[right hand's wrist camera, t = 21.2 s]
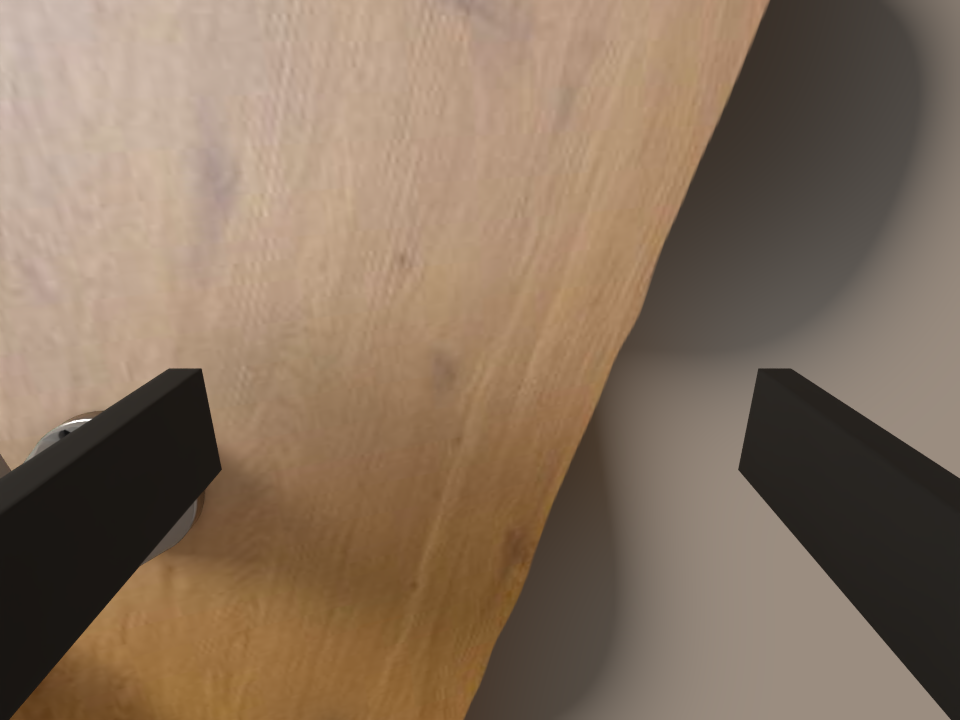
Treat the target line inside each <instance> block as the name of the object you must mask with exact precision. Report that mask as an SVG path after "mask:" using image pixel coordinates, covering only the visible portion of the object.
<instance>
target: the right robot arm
mask: <svg viewBox="0 0 960 720" xmlns="http://www.w3.org/2000/svg"><path fill="white" fill-rule="evenodd" d="M221 470H222V469H221V464H220V459H219V454H218V448H217V443H216V438H215V433H214V428H213V423H212V418H211V413H210V408H209V403H208V398H207V393H206V388H205V383H204V378H203V373H202V369H168V370H166V371H165V372H163V373H162V374H160V375H158V376H157V377H155V378H154V379H152V380H151V381H149V382H148V383H146V384H145V385H143V386H142V387H140V388H138V389H137V390H135V391H134V392H132V393H131V394H129V395H128V396H126V397H125V398H123V399H122V400H120V401H119V402H117V403H115V404H114V405H112V406H111V407H109V408H108V409H106V410H105V411H97V412H90V413H85V414H81V415H78V416H76V417H73V418H71V419H69V420H68V421H66V422H64V423H63V424H61V425H59V426H58V427H56V428H55V429H53V430H51V431H50V432H49V433H47V434H46V435H45V436H44V437H43V438H41V440H40V441H39V442H38V443H37V445H36V446H35V448H34V449H33V450H32V452H31V453H30V455H29V456H28V457H27V459H26V460H25V461H24V463H23V464H22V465H20V466H19V467H17V468H16V469H14V470H13V471H11V470H10V468H9V467H8V465H7V464H6V462H5V461H4V459H3V458H2V456H1V455H0V720H9V719H10V718H11V717H12V716H13V714H14V713H15V712H16V711H17V710H18V708H19V707H20V706H21V705H22V704H23V703H24V701H25V700H26V699H27V698H28V697H29V696H30V694H31V693H32V692H33V691H34V690H35V689H36V687H37V686H38V685H39V684H40V683H41V681H42V680H43V679H44V678H45V677H46V676H47V674H48V673H49V672H50V671H51V670H52V669H53V667H54V666H55V665H56V664H57V663H58V661H59V660H60V659H61V658H62V657H63V656H64V654H65V653H66V652H67V651H68V650H69V649H70V647H71V646H72V645H73V644H74V643H75V642H76V640H77V639H78V638H79V637H80V636H81V634H82V633H83V632H84V631H85V630H86V629H87V627H88V626H89V625H90V624H91V623H92V622H93V620H94V619H95V618H96V617H97V616H98V614H99V613H100V612H101V611H102V610H103V609H104V607H105V606H106V605H107V604H108V603H109V602H110V600H111V599H112V598H113V597H114V596H115V594H116V593H117V592H118V591H119V590H120V589H121V587H122V586H123V585H124V584H125V583H126V582H127V580H128V579H129V578H130V577H131V576H132V575H133V573H134V572H135V571H136V570H137V569H138V567H139V566H141V565H143V564H144V563H146V562H148V561H149V560H151V559H153V558H154V557H156V556H158V555H159V554H161V553H163V552H164V551H166V550H168V549H169V548H171V547H173V546H174V545H175V544H177V543H178V542H179V541H180V540H181V539H182V538H183V537H184V536H185V535H186V533H187V532H188V531H189V530H190V528H191V527H192V526H193V525H194V523H195V522H196V520H197V519H198V517H199V515H200V513H201V511H202V507H203V503H204V490H205V489H206V488H207V486H208V485H209V484H210V483H211V482H212V481H213V479H214V478H215V477H216V476H217V475H218V473H219V472H220V471H221ZM738 470H739V471H740V472H741V473H742V475H743V476H744V477H745V478H746V479H747V481H748V482H749V483H750V484H751V485H752V486H753V488H754V489H755V490H756V491H757V492H758V493H759V495H760V496H761V497H762V498H763V499H764V500H765V502H766V503H767V504H768V505H769V506H770V507H771V509H772V510H773V511H774V512H775V513H776V515H777V516H778V517H779V518H780V519H781V520H782V522H783V523H784V524H785V525H786V526H787V527H788V529H789V530H790V531H791V532H792V533H793V535H794V536H795V537H796V538H797V539H798V540H799V542H800V543H801V544H802V545H803V546H804V547H805V549H806V550H807V551H808V552H809V553H810V555H811V556H812V557H813V558H814V559H815V560H816V562H817V563H818V564H819V565H820V566H821V567H822V569H823V570H824V571H825V572H826V573H827V575H828V576H829V577H830V578H831V579H832V580H833V581H834V583H835V584H836V585H837V586H838V587H839V589H840V590H841V591H842V592H843V593H844V594H845V596H846V597H847V598H848V599H849V600H850V602H851V603H852V604H853V605H854V606H855V607H856V609H857V610H858V611H859V612H860V613H861V614H862V616H863V617H864V618H865V619H866V620H867V622H868V623H869V624H870V625H871V626H872V627H873V629H874V630H875V631H876V632H877V633H878V634H879V636H880V637H881V638H882V639H883V640H884V642H885V643H886V644H887V645H888V646H889V647H890V648H891V650H892V651H893V652H894V653H895V654H896V656H897V657H898V658H899V659H900V660H901V661H902V663H903V664H904V665H905V666H906V667H907V669H908V670H909V671H910V672H911V673H912V674H913V676H914V677H915V678H916V679H917V680H918V681H919V683H920V684H921V685H922V686H923V687H924V689H925V690H926V691H927V692H928V693H929V694H930V696H931V697H932V698H933V699H934V700H935V701H936V703H937V704H938V705H939V706H940V707H941V708H942V710H943V711H944V712H945V713H946V714H947V716H948V717H949V718H950V719H951V720H960V478H958V477H957V476H955V475H954V474H952V473H951V472H949V471H947V470H946V469H944V468H943V467H941V466H940V465H938V464H937V463H935V462H934V461H932V460H931V459H929V458H927V457H926V456H924V455H923V454H921V453H920V452H918V451H917V450H915V449H914V448H912V447H911V446H909V445H908V444H906V443H904V442H903V441H901V440H900V439H898V438H897V437H895V436H894V435H892V434H891V433H889V432H888V431H886V430H884V429H883V428H881V427H880V426H878V425H877V424H875V423H874V422H872V421H871V420H869V419H868V418H866V417H865V416H863V415H861V414H860V413H858V412H857V411H855V410H854V409H852V408H851V407H849V406H848V405H846V404H844V403H843V402H841V401H840V400H838V399H837V398H835V397H834V396H832V395H831V394H829V393H828V392H826V391H825V390H823V389H822V388H820V387H818V386H817V385H815V384H814V383H812V382H811V381H809V380H808V379H806V378H805V377H803V376H802V375H800V374H798V373H797V372H795V371H794V370H792V369H758V373H757V378H756V383H755V388H754V393H753V398H752V403H751V408H750V414H749V419H748V423H747V429H746V433H745V438H744V443H743V449H742V454H741V459H740V464H739V469H738Z"/></svg>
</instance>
